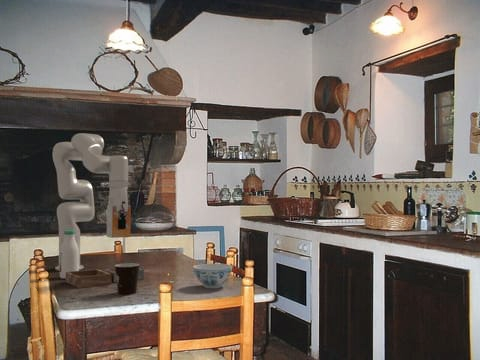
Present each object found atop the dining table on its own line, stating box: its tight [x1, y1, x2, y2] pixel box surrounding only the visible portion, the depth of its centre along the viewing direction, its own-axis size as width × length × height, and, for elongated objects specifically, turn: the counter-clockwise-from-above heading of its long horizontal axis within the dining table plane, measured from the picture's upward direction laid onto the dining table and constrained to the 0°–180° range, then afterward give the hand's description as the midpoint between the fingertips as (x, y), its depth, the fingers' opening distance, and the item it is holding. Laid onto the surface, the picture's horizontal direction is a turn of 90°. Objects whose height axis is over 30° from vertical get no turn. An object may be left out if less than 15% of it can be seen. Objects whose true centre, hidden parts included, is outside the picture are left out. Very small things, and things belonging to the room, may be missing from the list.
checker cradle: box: [103, 267, 145, 283], centre depth 207 cm, size 11×13×4 cm
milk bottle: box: [59, 230, 80, 280], centre depth 212 cm, size 8×8×20 cm
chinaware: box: [192, 263, 233, 289], centre depth 190 cm, size 15×15×8 cm
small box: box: [106, 205, 132, 239], centre depth 207 cm, size 8×6×13 cm
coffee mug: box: [114, 262, 140, 296], centre depth 177 cm, size 12×9×10 cm
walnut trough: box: [65, 268, 112, 289], centre depth 198 cm, size 16×13×4 cm
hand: (118, 228), depth 206 cm, fingers closed on small box, 6 cm apart
